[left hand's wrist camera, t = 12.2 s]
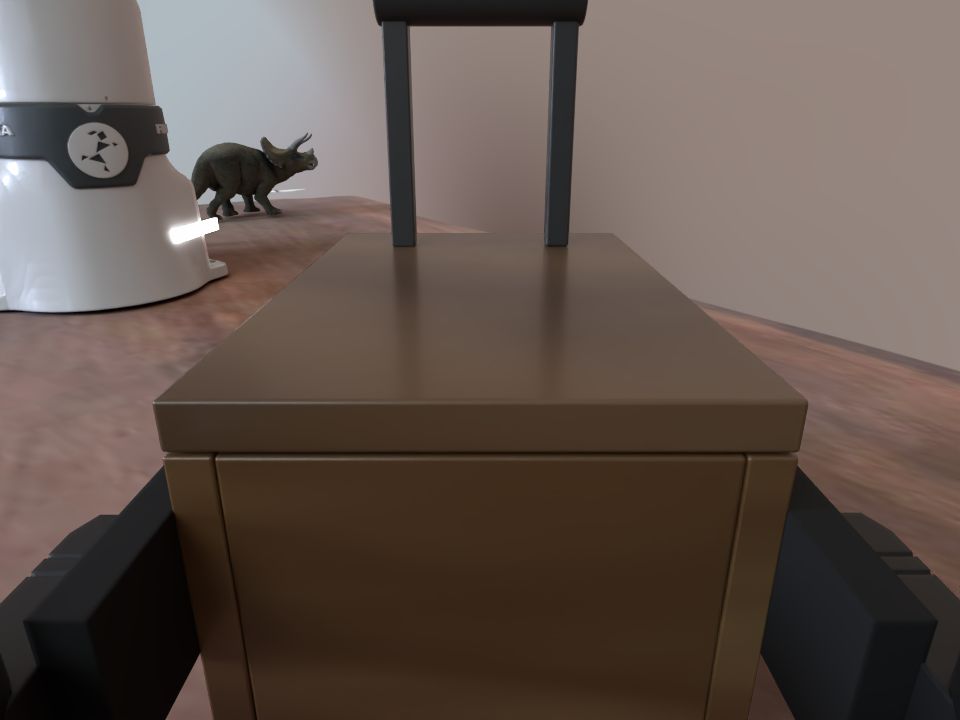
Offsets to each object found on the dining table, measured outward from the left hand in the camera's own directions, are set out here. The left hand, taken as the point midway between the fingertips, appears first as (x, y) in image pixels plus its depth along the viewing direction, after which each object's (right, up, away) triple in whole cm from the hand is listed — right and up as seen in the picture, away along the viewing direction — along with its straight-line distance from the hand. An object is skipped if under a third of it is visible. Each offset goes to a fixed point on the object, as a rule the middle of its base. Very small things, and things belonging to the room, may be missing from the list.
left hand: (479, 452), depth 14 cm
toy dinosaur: (-34, +22, +78) cm, 88 cm away
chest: (0, -5, +5) cm, 7 cm away
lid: (0, +3, +2) cm, 4 cm away
